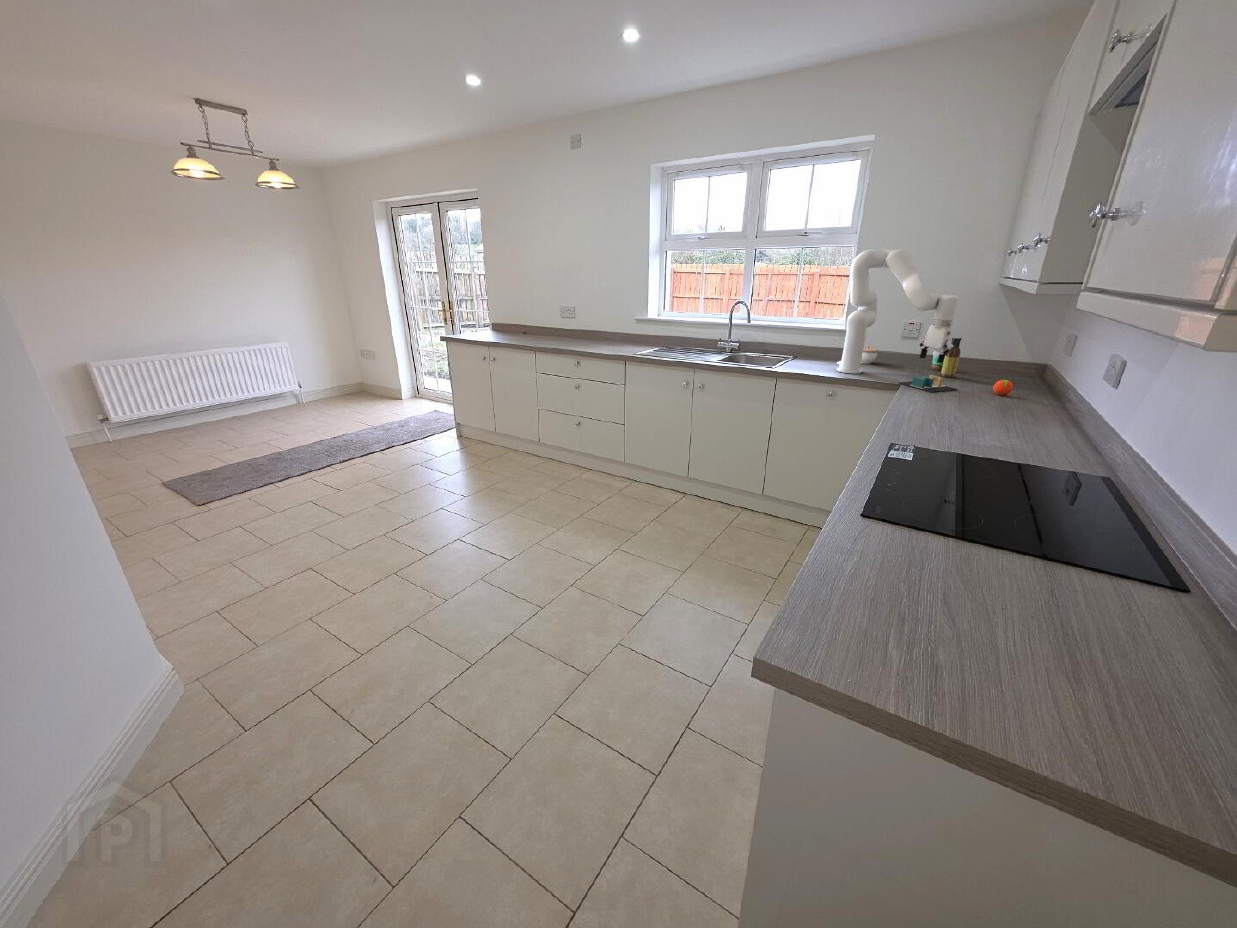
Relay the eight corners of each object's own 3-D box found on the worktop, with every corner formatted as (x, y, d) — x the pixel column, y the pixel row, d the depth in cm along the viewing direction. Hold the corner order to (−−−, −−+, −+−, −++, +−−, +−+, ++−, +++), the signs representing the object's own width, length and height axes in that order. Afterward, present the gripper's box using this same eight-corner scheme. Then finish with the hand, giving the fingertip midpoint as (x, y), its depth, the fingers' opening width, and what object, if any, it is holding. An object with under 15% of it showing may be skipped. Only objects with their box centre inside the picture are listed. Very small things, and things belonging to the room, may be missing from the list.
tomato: (1011, 398, 212) (1016, 382, 209) (992, 396, 215) (997, 380, 212) (1009, 394, 218) (1014, 379, 215) (990, 392, 221) (995, 377, 218)
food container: (923, 368, 267) (928, 350, 264) (930, 367, 270) (935, 349, 266) (945, 373, 257) (950, 354, 253) (952, 372, 260) (958, 353, 256)
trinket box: (867, 365, 275) (871, 348, 271) (851, 361, 283) (854, 345, 280) (879, 363, 279) (883, 347, 276) (863, 360, 288) (866, 344, 284)
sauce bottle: (950, 375, 252) (961, 336, 244) (957, 378, 246) (968, 338, 239) (937, 375, 253) (947, 336, 245) (943, 377, 247) (954, 338, 239)
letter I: (927, 383, 233) (929, 375, 232) (930, 383, 234) (932, 375, 232) (938, 386, 228) (940, 378, 227) (941, 386, 229) (943, 377, 227)
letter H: (911, 385, 231) (913, 376, 229) (920, 384, 232) (923, 376, 231) (922, 388, 225) (924, 379, 224) (931, 387, 227) (934, 378, 225)
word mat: (898, 383, 236) (899, 382, 236) (923, 381, 240) (924, 380, 240) (931, 392, 220) (931, 391, 220) (957, 390, 225) (957, 388, 225)
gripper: (965, 326, 217) (953, 364, 224) (931, 320, 232) (921, 356, 239) (952, 326, 214) (941, 364, 222) (919, 320, 229) (909, 356, 237)
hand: (930, 360), depth 230 cm, fingers open, 9 cm apart
